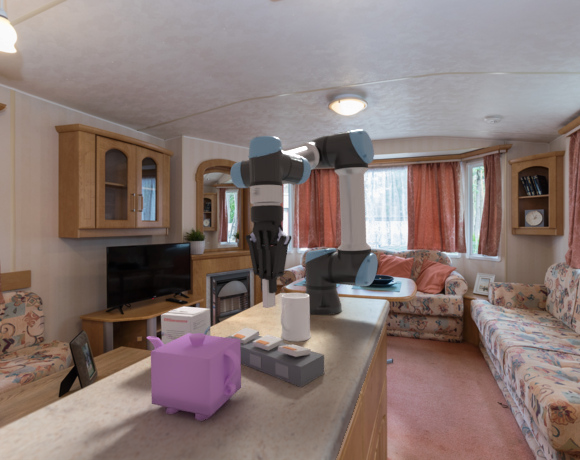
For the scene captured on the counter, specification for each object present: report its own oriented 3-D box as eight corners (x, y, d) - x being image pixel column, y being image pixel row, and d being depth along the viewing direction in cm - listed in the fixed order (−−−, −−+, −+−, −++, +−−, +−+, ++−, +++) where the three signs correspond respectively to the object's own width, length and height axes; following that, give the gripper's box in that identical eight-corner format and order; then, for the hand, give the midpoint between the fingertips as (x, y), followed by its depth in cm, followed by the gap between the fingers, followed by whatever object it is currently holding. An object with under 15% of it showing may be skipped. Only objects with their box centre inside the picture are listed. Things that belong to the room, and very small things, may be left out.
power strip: (230, 341, 92) (230, 327, 92) (324, 373, 71) (324, 354, 71) (206, 350, 86) (205, 334, 86) (300, 387, 65) (300, 367, 65)
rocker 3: (292, 348, 75) (293, 343, 75) (310, 354, 72) (310, 348, 72) (277, 351, 71) (278, 345, 71) (295, 356, 68) (296, 350, 68)
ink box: (212, 353, 84) (211, 307, 84) (191, 367, 76) (190, 316, 76) (183, 349, 86) (182, 305, 86) (160, 362, 78) (160, 313, 78)
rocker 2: (268, 338, 80) (267, 333, 80) (283, 343, 77) (283, 338, 77) (252, 345, 77) (252, 340, 76) (268, 350, 73) (268, 345, 73)
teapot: (253, 398, 62) (252, 330, 61) (224, 429, 52) (222, 350, 52) (166, 381, 68) (165, 321, 68) (126, 407, 59) (125, 337, 59)
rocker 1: (246, 330, 86) (245, 326, 85) (259, 334, 82) (258, 330, 82) (231, 339, 82) (230, 335, 82) (244, 343, 79) (243, 339, 78)
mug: (292, 347, 87) (292, 302, 87) (267, 341, 92) (267, 298, 92) (316, 335, 96) (315, 294, 96) (292, 330, 102) (292, 291, 101)
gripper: (235, 206, 78) (238, 305, 79) (276, 203, 69) (278, 314, 70) (258, 206, 84) (261, 299, 84) (298, 204, 75) (301, 307, 76)
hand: (269, 306), depth 77 cm, fingers closed
